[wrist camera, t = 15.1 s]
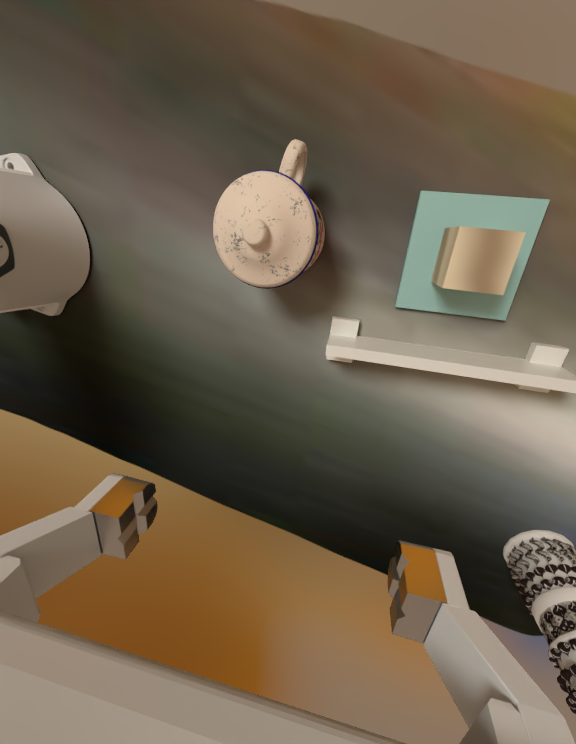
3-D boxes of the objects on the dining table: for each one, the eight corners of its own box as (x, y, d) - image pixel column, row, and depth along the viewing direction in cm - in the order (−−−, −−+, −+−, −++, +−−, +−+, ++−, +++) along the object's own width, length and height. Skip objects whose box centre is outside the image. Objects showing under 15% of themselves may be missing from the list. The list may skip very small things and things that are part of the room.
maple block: (430, 281, 33) (442, 288, 28) (444, 228, 31) (459, 226, 26) (482, 287, 32) (503, 295, 27) (500, 233, 30) (525, 232, 25)
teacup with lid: (309, 290, 36) (289, 310, 25) (236, 261, 36) (186, 269, 26) (352, 172, 31) (349, 137, 20) (266, 140, 31) (220, 90, 21)
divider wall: (327, 356, 39) (322, 371, 34) (333, 315, 37) (329, 326, 32) (543, 389, 35) (571, 411, 30) (563, 346, 33) (596, 363, 28)
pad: (394, 305, 35) (395, 306, 34) (420, 191, 30) (421, 190, 30) (502, 319, 33) (505, 320, 33) (546, 200, 29) (549, 199, 28)
